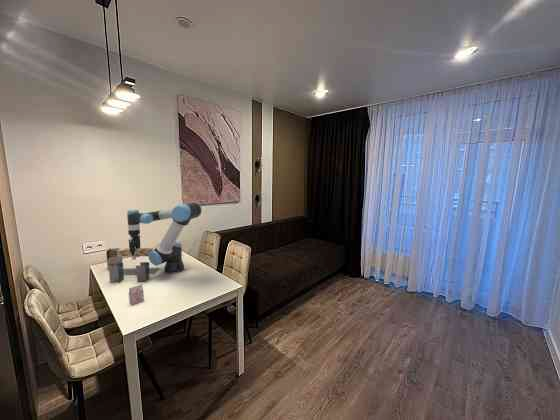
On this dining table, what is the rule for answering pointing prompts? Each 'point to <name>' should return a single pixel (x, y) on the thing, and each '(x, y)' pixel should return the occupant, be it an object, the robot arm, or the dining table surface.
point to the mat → (133, 271)
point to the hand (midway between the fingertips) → (135, 258)
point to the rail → (139, 251)
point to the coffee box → (113, 257)
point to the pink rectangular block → (136, 294)
